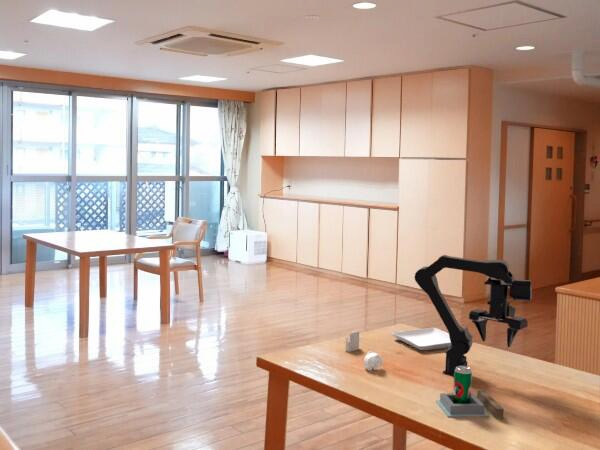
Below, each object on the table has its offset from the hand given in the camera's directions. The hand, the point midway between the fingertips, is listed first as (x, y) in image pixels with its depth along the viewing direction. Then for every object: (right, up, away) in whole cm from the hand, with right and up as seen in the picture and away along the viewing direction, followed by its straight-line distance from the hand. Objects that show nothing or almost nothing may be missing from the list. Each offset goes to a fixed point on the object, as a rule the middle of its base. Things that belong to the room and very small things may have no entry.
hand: (496, 344), depth 221 cm
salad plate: (-15, -8, +43) cm, 46 cm away
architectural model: (-46, -9, +32) cm, 57 cm away
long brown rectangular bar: (-10, -15, -26) cm, 31 cm away
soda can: (-18, -14, -26) cm, 35 cm away
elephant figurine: (-40, -11, +9) cm, 43 cm away
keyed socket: (-18, -14, -26) cm, 35 cm away
